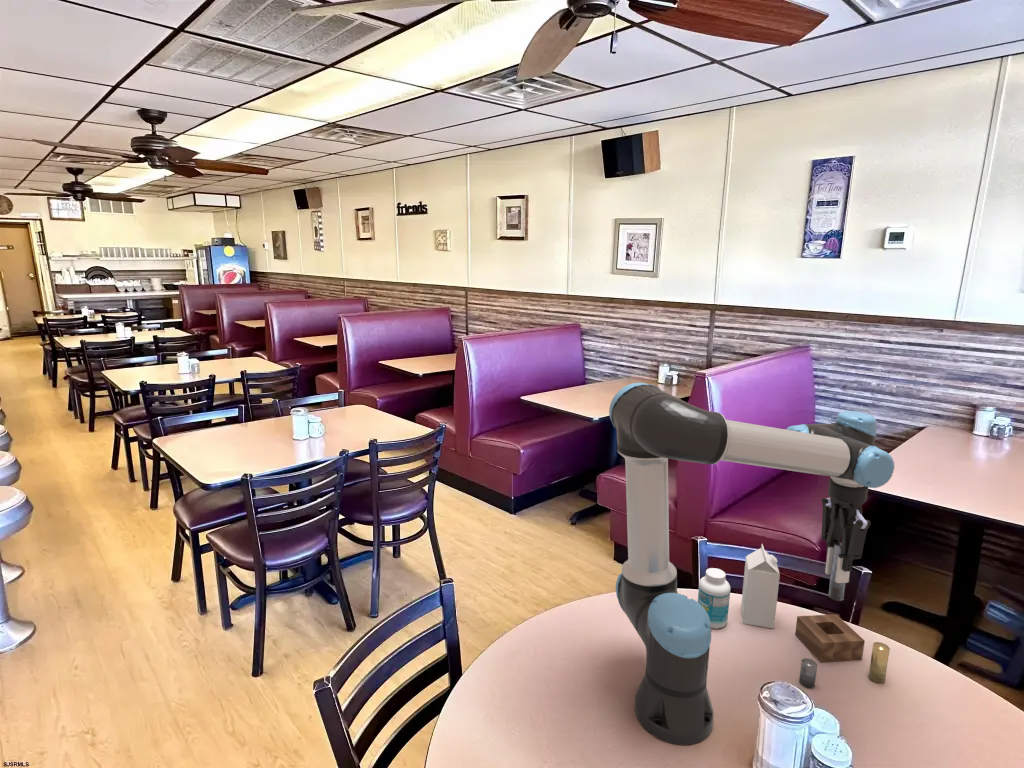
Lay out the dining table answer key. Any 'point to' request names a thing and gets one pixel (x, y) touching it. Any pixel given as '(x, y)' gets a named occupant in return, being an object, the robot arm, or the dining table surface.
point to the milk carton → (760, 589)
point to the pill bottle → (715, 596)
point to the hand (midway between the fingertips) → (836, 577)
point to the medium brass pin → (879, 662)
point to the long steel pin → (835, 588)
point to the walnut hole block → (829, 638)
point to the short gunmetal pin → (808, 673)
